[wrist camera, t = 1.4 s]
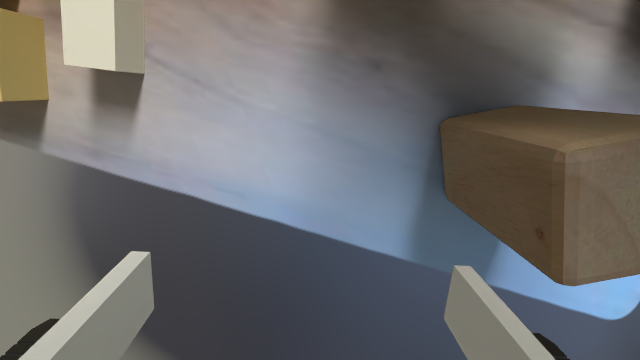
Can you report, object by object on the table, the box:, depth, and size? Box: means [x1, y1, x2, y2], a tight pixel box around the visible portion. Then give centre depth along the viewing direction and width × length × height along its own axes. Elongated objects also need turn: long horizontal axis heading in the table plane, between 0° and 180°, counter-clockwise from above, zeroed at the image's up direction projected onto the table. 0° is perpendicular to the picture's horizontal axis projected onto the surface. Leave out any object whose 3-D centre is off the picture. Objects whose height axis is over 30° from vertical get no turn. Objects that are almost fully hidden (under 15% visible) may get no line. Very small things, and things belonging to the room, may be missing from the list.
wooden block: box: [440, 105, 640, 286], centre depth 31 cm, size 10×10×20 cm
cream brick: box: [61, 0, 145, 74], centre depth 33 cm, size 8×4×6 cm, turn 173°
